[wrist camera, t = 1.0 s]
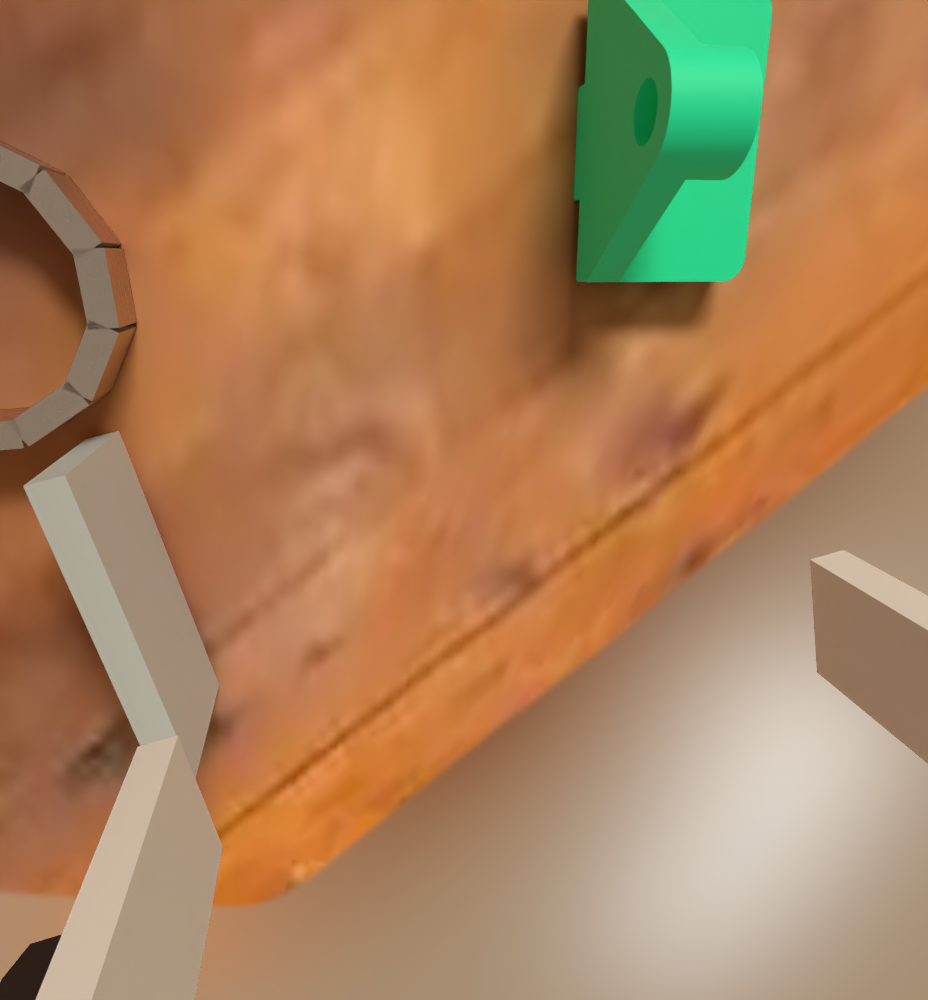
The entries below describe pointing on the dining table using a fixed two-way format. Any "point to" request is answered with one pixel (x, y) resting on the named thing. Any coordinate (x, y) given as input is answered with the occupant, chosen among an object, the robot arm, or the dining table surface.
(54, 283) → the dining table surface
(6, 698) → the dining table surface
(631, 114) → the camera mount
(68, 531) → the hinge leaf
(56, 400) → the hinge fixed
